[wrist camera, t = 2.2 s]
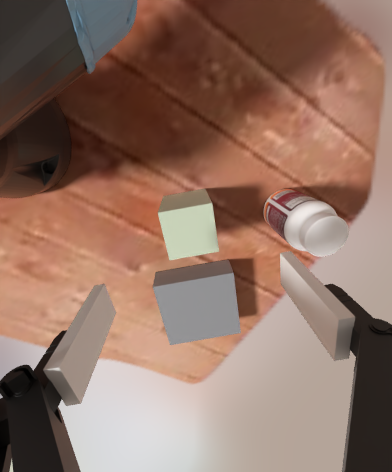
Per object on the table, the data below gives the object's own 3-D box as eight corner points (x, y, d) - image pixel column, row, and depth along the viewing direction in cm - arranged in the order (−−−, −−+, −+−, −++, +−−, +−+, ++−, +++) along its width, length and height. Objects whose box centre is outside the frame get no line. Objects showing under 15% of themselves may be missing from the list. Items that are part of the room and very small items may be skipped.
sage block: (163, 196, 32) (157, 212, 24) (205, 188, 32) (212, 202, 24) (172, 234, 34) (169, 260, 27) (210, 227, 34) (219, 251, 27)
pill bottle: (286, 234, 35) (329, 272, 25) (254, 217, 34) (285, 250, 23) (311, 199, 33) (368, 225, 23) (278, 180, 32) (323, 198, 21)
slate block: (155, 272, 36) (152, 287, 33) (228, 259, 36) (233, 272, 32) (171, 326, 41) (170, 345, 37) (235, 315, 41) (240, 332, 37)
